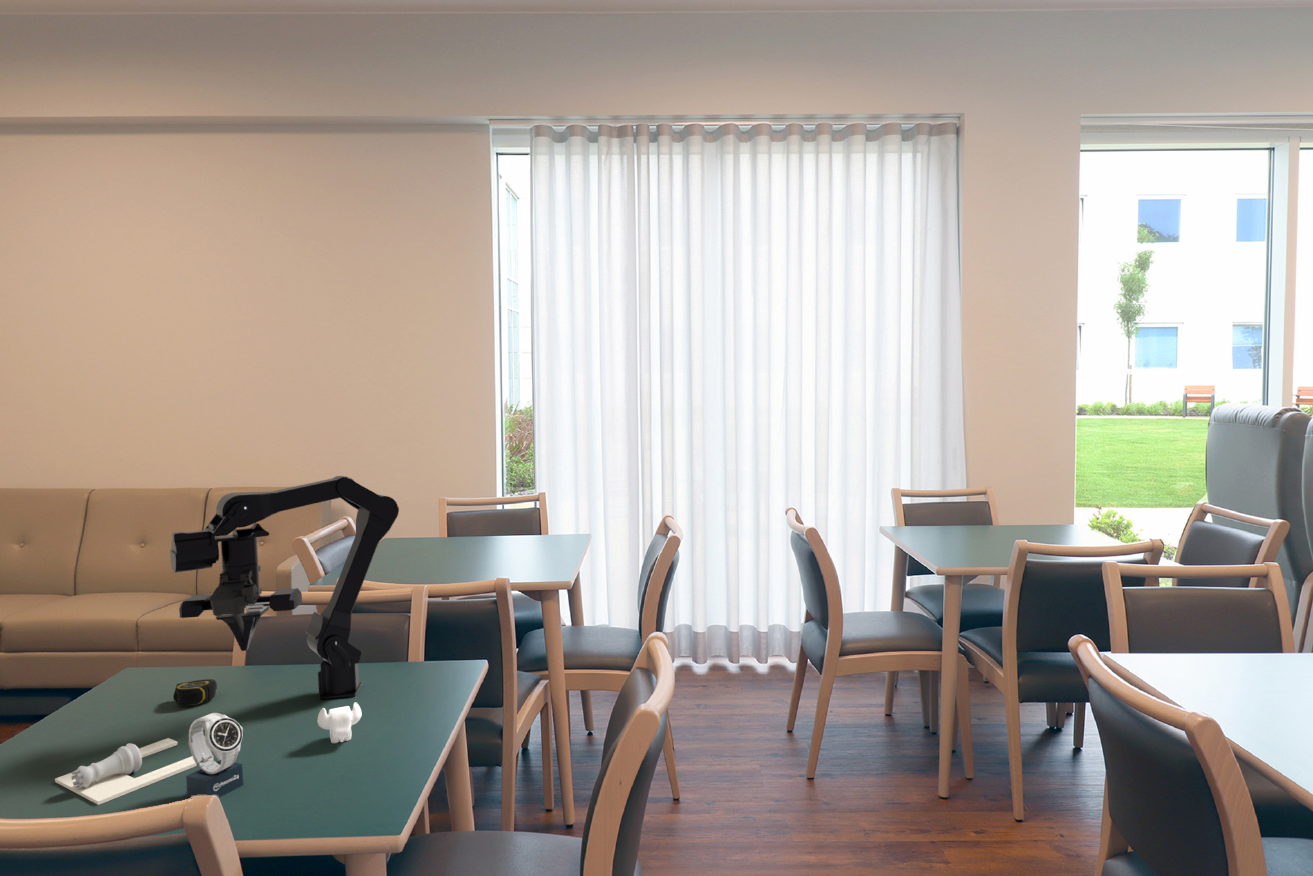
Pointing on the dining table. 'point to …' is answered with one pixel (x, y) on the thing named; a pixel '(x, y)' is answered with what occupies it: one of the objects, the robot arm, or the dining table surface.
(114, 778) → the cream u-shaped flat bracket
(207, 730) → the watch
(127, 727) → the dining table surface
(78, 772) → the rook chess piece
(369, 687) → the dining table surface
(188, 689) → the tape measure
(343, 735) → the elephant figurine
